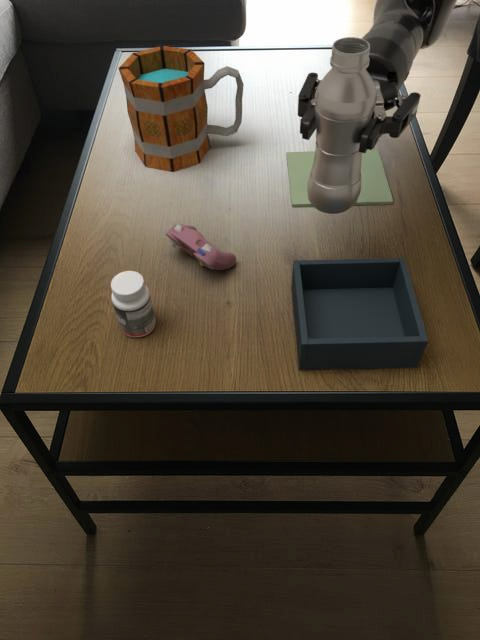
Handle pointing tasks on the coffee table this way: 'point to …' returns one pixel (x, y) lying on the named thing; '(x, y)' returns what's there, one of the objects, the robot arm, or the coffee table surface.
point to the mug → (172, 106)
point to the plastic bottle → (341, 127)
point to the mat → (371, 179)
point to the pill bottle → (132, 304)
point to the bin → (356, 314)
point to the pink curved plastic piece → (199, 247)
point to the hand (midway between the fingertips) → (333, 138)
